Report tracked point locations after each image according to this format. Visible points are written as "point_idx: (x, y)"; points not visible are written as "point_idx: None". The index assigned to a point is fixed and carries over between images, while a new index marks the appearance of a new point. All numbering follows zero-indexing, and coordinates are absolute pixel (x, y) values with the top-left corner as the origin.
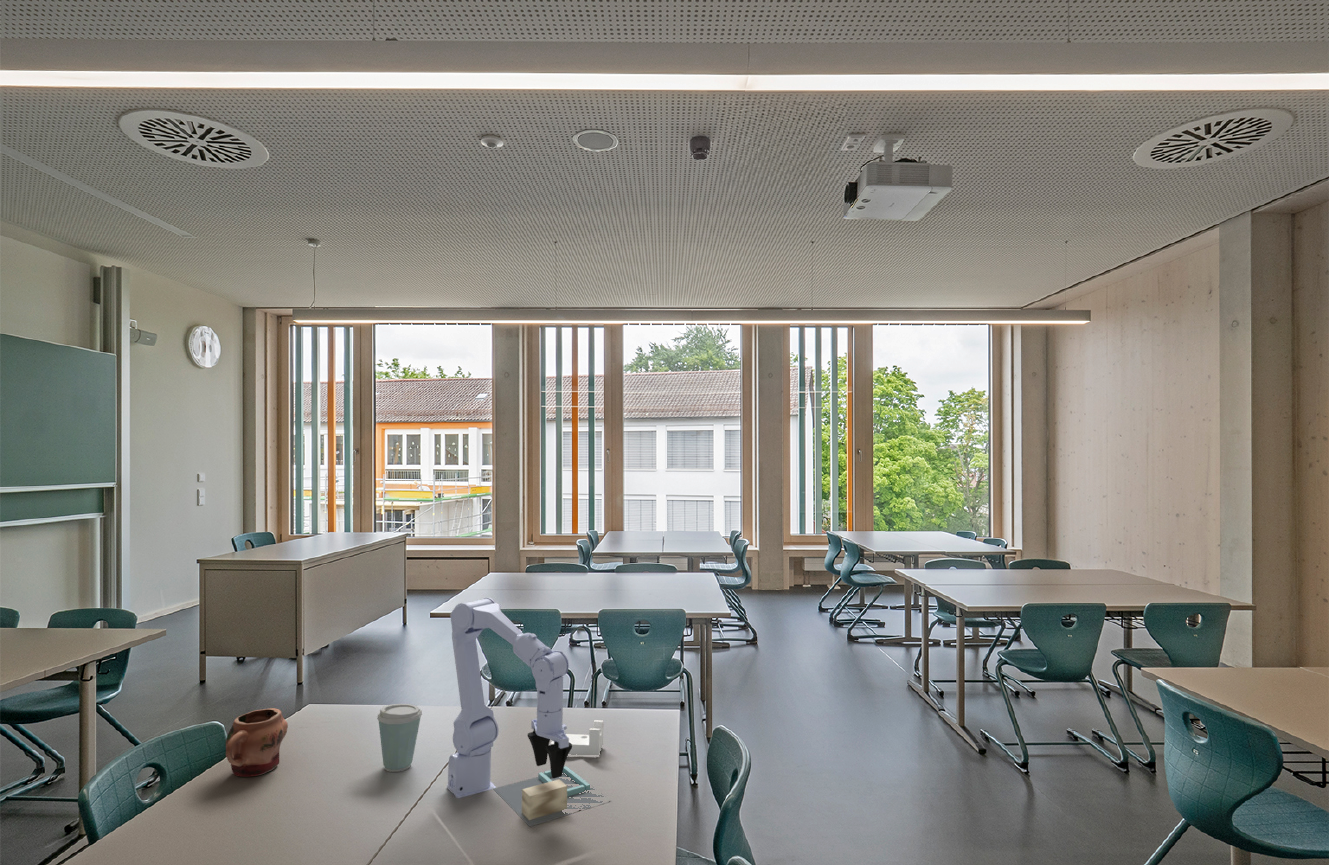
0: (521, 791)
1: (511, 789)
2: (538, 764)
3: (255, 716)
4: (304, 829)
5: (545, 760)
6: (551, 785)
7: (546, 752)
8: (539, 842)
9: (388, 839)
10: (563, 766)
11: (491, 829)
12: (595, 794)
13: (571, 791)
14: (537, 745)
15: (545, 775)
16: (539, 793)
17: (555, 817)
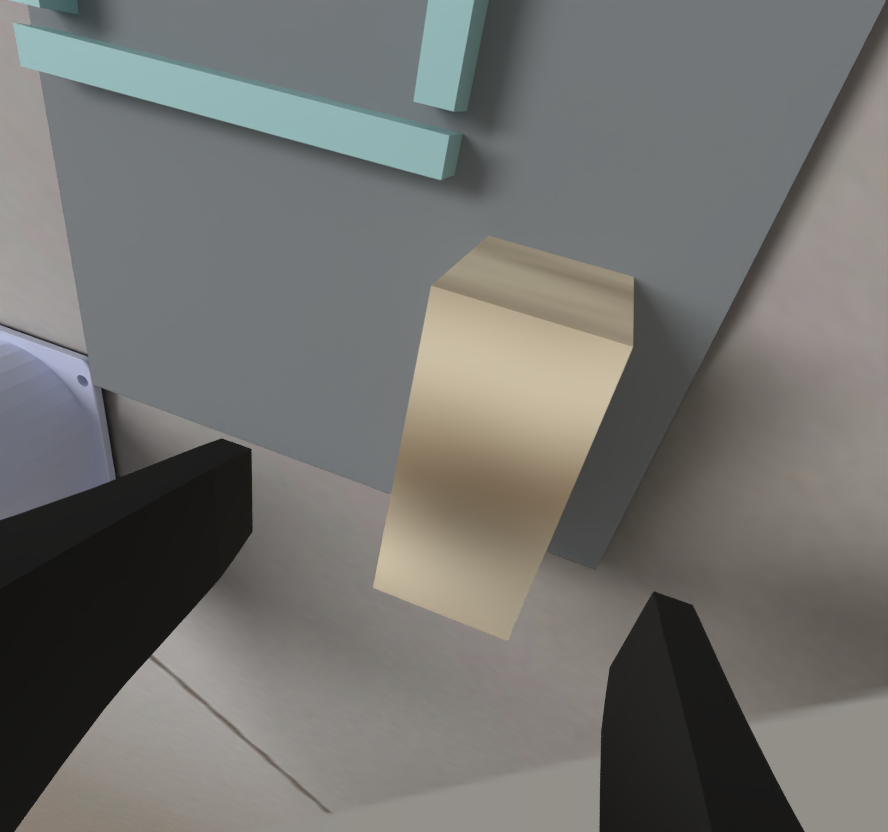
0: (195, 306)
1: (143, 327)
2: (241, 537)
3: None
4: (115, 772)
5: (223, 483)
6: (486, 431)
7: (134, 532)
8: (756, 625)
9: (272, 761)
10: (748, 737)
11: (444, 625)
12: None
13: (467, 57)
14: (26, 758)
15: (81, 46)
16: (528, 582)
17: (654, 421)
